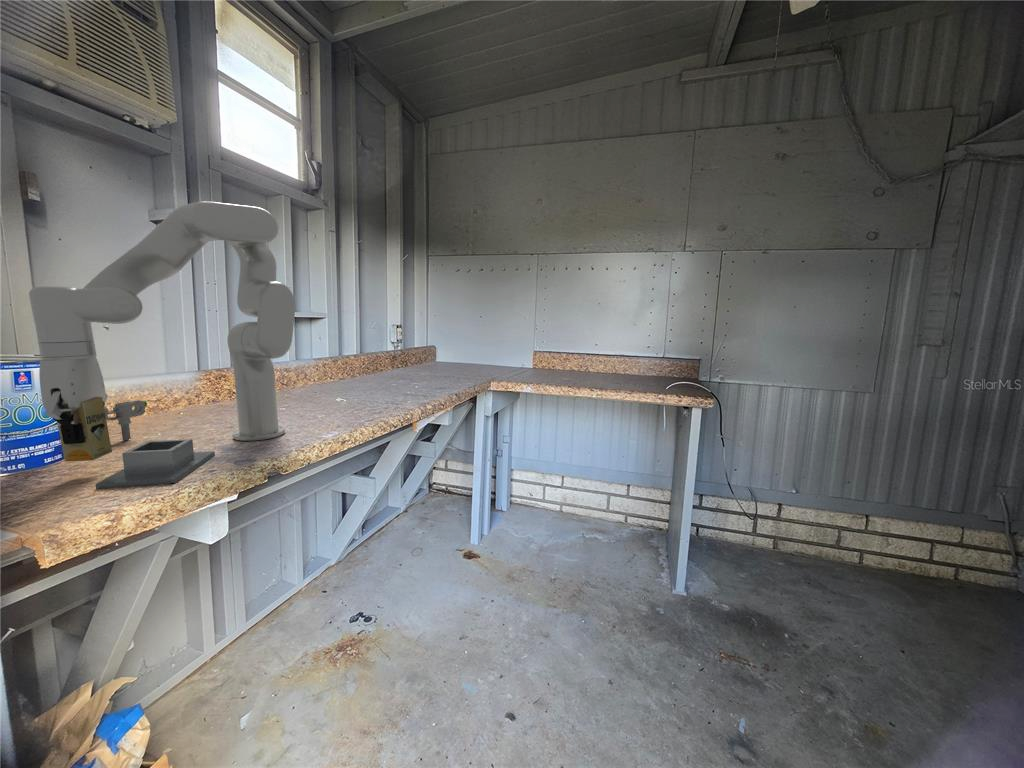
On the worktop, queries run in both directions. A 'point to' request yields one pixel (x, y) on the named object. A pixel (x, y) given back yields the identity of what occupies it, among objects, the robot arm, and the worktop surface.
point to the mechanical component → (126, 414)
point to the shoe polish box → (89, 433)
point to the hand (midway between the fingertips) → (85, 437)
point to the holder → (156, 464)
